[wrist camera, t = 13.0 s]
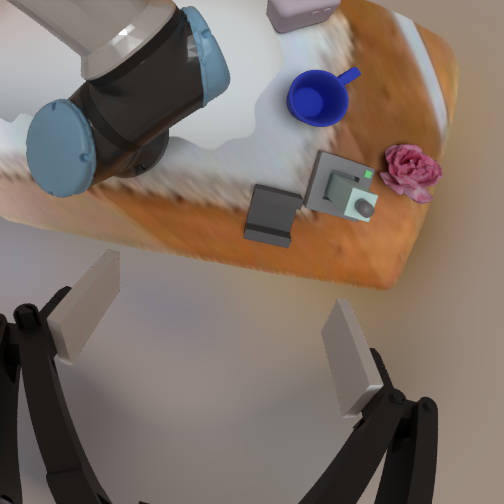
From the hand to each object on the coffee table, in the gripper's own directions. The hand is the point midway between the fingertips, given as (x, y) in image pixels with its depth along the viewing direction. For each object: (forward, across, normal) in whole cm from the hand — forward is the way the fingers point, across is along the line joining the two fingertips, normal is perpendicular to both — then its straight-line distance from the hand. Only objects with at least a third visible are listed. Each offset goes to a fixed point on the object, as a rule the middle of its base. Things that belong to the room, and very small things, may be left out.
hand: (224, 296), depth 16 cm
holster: (+35, +6, -5) cm, 36 cm away
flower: (+35, +27, +10) cm, 46 cm away
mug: (+35, +8, +17) cm, 40 cm away
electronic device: (+35, +2, +31) cm, 47 cm away
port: (+35, +16, +3) cm, 38 cm away
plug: (+34, +16, +3) cm, 38 cm away
